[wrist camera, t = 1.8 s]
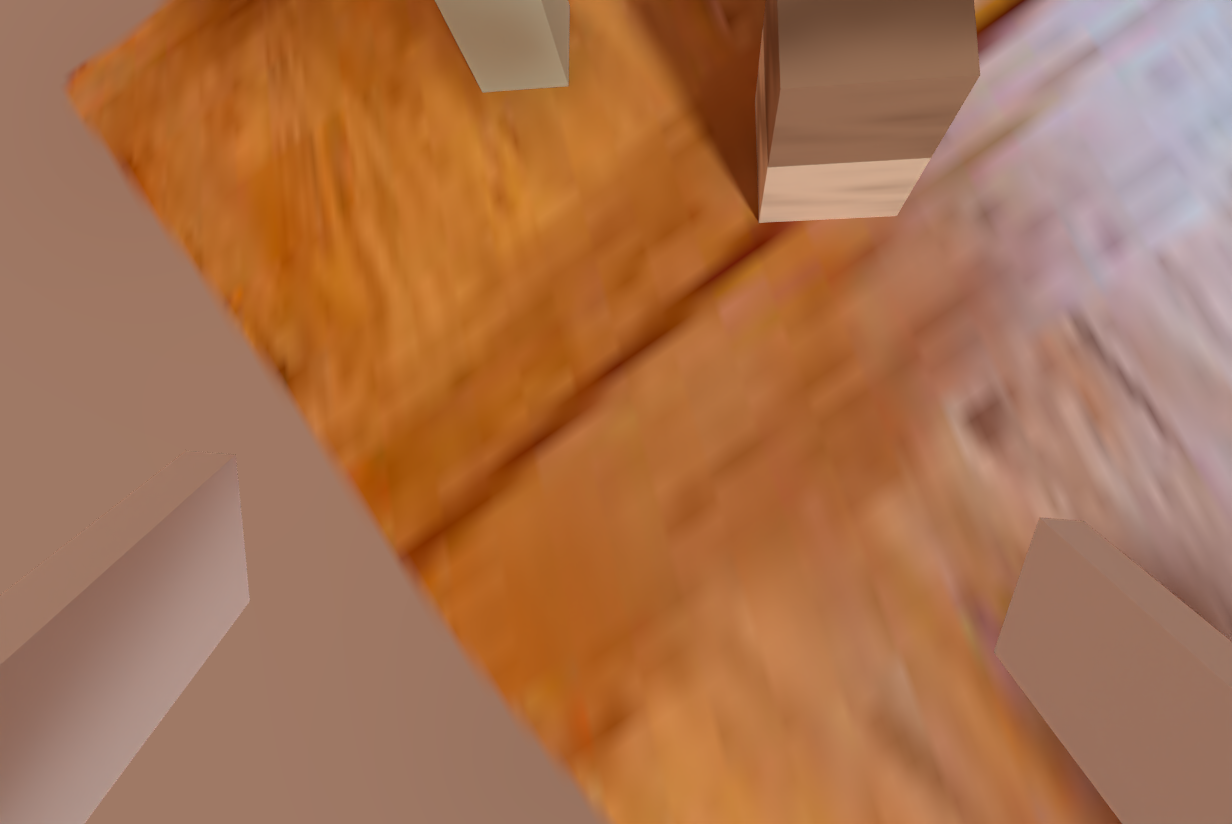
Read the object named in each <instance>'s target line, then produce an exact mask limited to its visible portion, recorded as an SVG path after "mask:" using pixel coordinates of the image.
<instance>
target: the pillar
mask: <svg viewBox="0 0 1232 824" xmlns="http://www.w3.org/2000/svg"><path fill="white" fill-rule="evenodd" d="M435 2H436V4H437V6H438V8H439V10H440V12H441V13H442V15H443V17H444V19H445V21H446V23H447V25H448V27H449V29H450V31H451V33H452V35H453V37H454V38H455V40H456V42H457V44H458V46H459V48H460V50H461V52H462V54H463V56H464V58H465V60H466V62H467V64H468V65H469V67H470V69H471V71H472V73H473V75H474V77H475V79H476V81H477V83H478V85H479V87H480V89H481V90H482V92H495V91H509V90H523V89H537V88H550V87H564V86H569V21H570V5H569V2H568V0H435Z"/></svg>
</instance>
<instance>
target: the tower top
mask: <svg viewBox="0 0 1232 824" xmlns="http://www.w3.org/2000/svg"><path fill="white" fill-rule="evenodd" d="M763 39H764V68H765V97H766V127H767V156H768V167H785V166H802V165H820V164H837V163H854V162H871V161H888V160H905V159H922V158H931V157H932V155H933V153H934V152H935V150H936V148H937V147H938V145H939V143H940V142H941V140H942V138H943V137H944V135H945V133H946V132H947V130H948V128H949V126H950V125H951V123H952V121H953V120H954V118H955V116H956V115H957V113H958V111H959V110H960V108H961V106H962V105H963V103H964V101H965V100H966V98H967V96H968V94H969V93H970V91H971V89H972V88H973V86H974V84H975V83H976V81H977V79H978V78H979V76H980V68H979V56H978V44H977V33H976V21H975V9H974V0H766V4H765V13H764V23H763Z"/></svg>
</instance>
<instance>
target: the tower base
mask: <svg viewBox="0 0 1232 824" xmlns="http://www.w3.org/2000/svg"><path fill="white" fill-rule="evenodd" d="M755 117H756V148H757V180H758V212H759V223H762V222H782V221H803V220H823V219H843V218H863V217H883V216H897V214H898V213H899V211H900V209H901V208H902V206H903V204H904V203H905V201H906V199H907V197H908V196H909V194H910V192H911V191H912V189H913V187H914V186H915V184H916V182H917V181H918V179H919V177H920V176H921V174H922V172H923V171H924V169H925V167H926V165H927V164H928V162H929V160H930V158H922V159H905V160H888V161H871V162H854V163H837V164H820V165H802V166H785V167H768V156H767V127H766V97H765V68H764V39H763V29H762V39H761V48H760V58H759V67H758V77H757V86H756V96H755Z"/></svg>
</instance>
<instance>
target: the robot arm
mask: <svg viewBox="0 0 1232 824" xmlns="http://www.w3.org/2000/svg"><path fill="white" fill-rule="evenodd" d="M249 601H250V600H249V589H248V578H247V568H246V557H245V547H244V537H243V526H242V516H241V505H240V494H239V484H238V473H237V463H236V455H234V454H223V453H210V452H197V451H185V452H184V453H182V454H181V455H180V456H178V457H177V458H176V459H174V460H173V461H172V462H171V463H169V464H168V465H167V466H165V467H164V468H163V469H162V470H160V471H159V472H158V473H156V474H155V475H154V476H153V477H151V478H150V479H149V480H147V481H146V482H145V483H144V484H142V485H141V486H140V487H138V488H137V489H136V490H135V491H133V492H132V493H131V494H129V495H128V496H127V497H126V498H124V499H123V500H122V501H120V502H119V503H118V504H117V505H115V506H114V507H113V508H111V509H110V510H109V511H108V512H106V513H105V514H104V515H102V516H101V517H100V518H98V519H97V520H96V521H95V522H93V523H92V524H91V525H90V526H88V527H87V528H86V529H84V530H83V531H82V532H81V533H79V534H78V535H77V536H75V537H74V538H73V539H71V540H70V541H69V542H68V543H66V544H65V545H64V546H63V547H61V548H60V549H59V550H57V551H56V552H55V553H53V554H52V555H51V556H50V557H48V558H47V559H46V560H44V561H43V562H42V563H41V564H40V565H38V566H37V567H35V568H34V569H33V570H32V571H30V572H29V573H28V574H27V575H25V576H24V577H23V578H21V579H20V580H19V581H17V582H16V583H15V584H14V585H12V586H11V587H10V588H8V589H7V590H6V591H5V592H3V593H2V594H1V595H0V824H85V822H86V821H87V820H88V818H89V817H90V815H91V814H92V813H93V811H94V810H95V808H96V807H97V806H98V805H99V803H100V802H101V801H102V799H103V798H104V797H105V795H106V794H107V793H108V791H109V790H110V788H111V787H112V786H113V785H114V783H115V782H116V780H117V779H118V778H119V776H120V775H121V774H122V772H123V771H124V770H125V768H126V767H127V766H128V764H129V763H130V762H131V760H132V759H133V758H134V756H135V755H136V754H137V752H138V751H139V750H140V748H141V747H142V745H143V744H144V743H145V741H146V740H147V739H148V737H149V736H150V735H151V733H152V732H153V731H154V729H155V728H156V727H157V725H158V724H159V723H160V721H161V720H162V719H163V717H164V716H165V715H166V713H167V712H168V710H169V709H170V708H171V706H172V705H173V704H174V702H175V701H176V700H177V698H178V697H179V696H180V694H181V693H182V691H183V690H184V689H185V687H186V686H187V685H188V683H189V682H190V681H191V680H192V678H193V677H194V675H195V674H196V673H197V671H198V670H199V669H200V667H201V666H202V665H203V663H204V662H205V661H206V659H207V658H208V657H209V655H210V654H211V652H212V651H213V650H214V649H215V647H216V646H217V644H218V643H219V642H220V640H221V639H222V638H223V636H224V635H225V634H226V632H227V631H228V630H229V628H230V627H231V626H232V624H233V623H234V622H235V620H236V619H237V618H238V616H239V615H240V613H241V612H242V611H243V610H244V608H245V607H246V605H247V604H248V603H249ZM994 653H995V655H996V656H997V657H998V659H999V660H1000V661H1001V663H1002V664H1003V665H1004V667H1005V668H1006V669H1007V671H1008V672H1009V673H1010V675H1011V676H1012V677H1013V679H1014V680H1015V681H1016V683H1017V684H1018V685H1019V687H1020V688H1021V689H1022V691H1023V692H1024V693H1025V695H1026V696H1027V697H1028V699H1029V700H1030V701H1031V703H1032V704H1033V705H1034V707H1035V708H1036V709H1037V711H1038V712H1039V713H1040V715H1041V716H1042V717H1043V719H1044V720H1045V721H1046V723H1047V724H1048V725H1049V727H1050V728H1051V730H1052V731H1053V732H1054V734H1055V735H1056V736H1057V738H1058V739H1059V740H1060V742H1061V743H1062V744H1063V746H1064V747H1065V748H1066V750H1067V751H1068V752H1069V754H1070V755H1071V756H1072V758H1073V759H1074V760H1075V762H1076V763H1077V764H1078V766H1079V767H1080V768H1081V770H1082V771H1083V772H1084V774H1085V775H1086V776H1087V778H1088V779H1089V780H1090V782H1091V783H1092V784H1093V786H1094V787H1095V788H1096V790H1097V791H1098V792H1099V794H1100V795H1101V796H1102V798H1103V799H1104V800H1105V802H1106V803H1107V804H1108V806H1109V807H1110V808H1111V810H1112V811H1113V812H1114V814H1115V815H1116V816H1117V818H1118V819H1119V820H1120V822H1121V823H1122V824H1232V642H1231V641H1230V640H1229V639H1228V638H1227V637H1225V636H1224V635H1223V634H1222V633H1220V632H1219V631H1218V630H1217V629H1216V628H1214V627H1213V626H1212V625H1211V624H1209V623H1208V622H1207V621H1206V620H1204V619H1203V618H1202V617H1201V616H1200V615H1198V614H1197V613H1196V612H1195V611H1193V610H1192V609H1191V608H1190V607H1189V606H1187V605H1186V604H1185V603H1184V602H1182V601H1181V600H1180V599H1179V598H1177V597H1176V596H1175V595H1174V594H1173V593H1171V592H1170V591H1169V590H1168V589H1166V588H1165V587H1164V586H1163V585H1162V584H1160V583H1159V582H1158V581H1157V580H1155V579H1154V578H1153V577H1152V576H1150V575H1149V574H1148V573H1147V572H1146V571H1144V570H1143V569H1142V568H1141V567H1139V566H1138V565H1137V564H1136V563H1135V562H1133V561H1132V560H1131V559H1130V558H1128V557H1127V556H1126V555H1125V554H1123V553H1122V552H1121V551H1120V550H1119V549H1117V548H1116V547H1115V546H1114V545H1112V544H1111V543H1110V542H1109V541H1108V540H1106V539H1105V538H1104V537H1103V536H1101V535H1100V534H1099V533H1098V532H1096V531H1095V530H1094V529H1093V528H1092V527H1090V526H1089V525H1088V524H1087V523H1085V522H1084V521H1077V520H1064V519H1051V518H1039V521H1038V523H1037V526H1036V529H1035V532H1034V535H1033V538H1032V541H1031V544H1030V547H1029V550H1028V553H1027V556H1026V559H1025V562H1024V564H1023V567H1022V570H1021V573H1020V576H1019V579H1018V582H1017V585H1016V588H1015V591H1014V594H1013V597H1012V600H1011V603H1010V605H1009V608H1008V611H1007V614H1006V617H1005V620H1004V623H1003V626H1002V629H1001V632H1000V635H999V638H998V641H997V644H996V646H995V649H994Z"/></svg>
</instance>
